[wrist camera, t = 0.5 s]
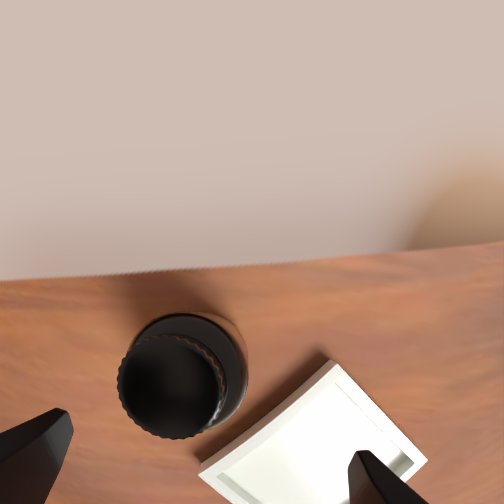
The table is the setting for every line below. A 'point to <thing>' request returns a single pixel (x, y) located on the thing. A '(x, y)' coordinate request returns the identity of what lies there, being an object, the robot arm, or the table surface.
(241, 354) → the supplement bottle
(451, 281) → the table surface
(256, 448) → the ceramic tray
